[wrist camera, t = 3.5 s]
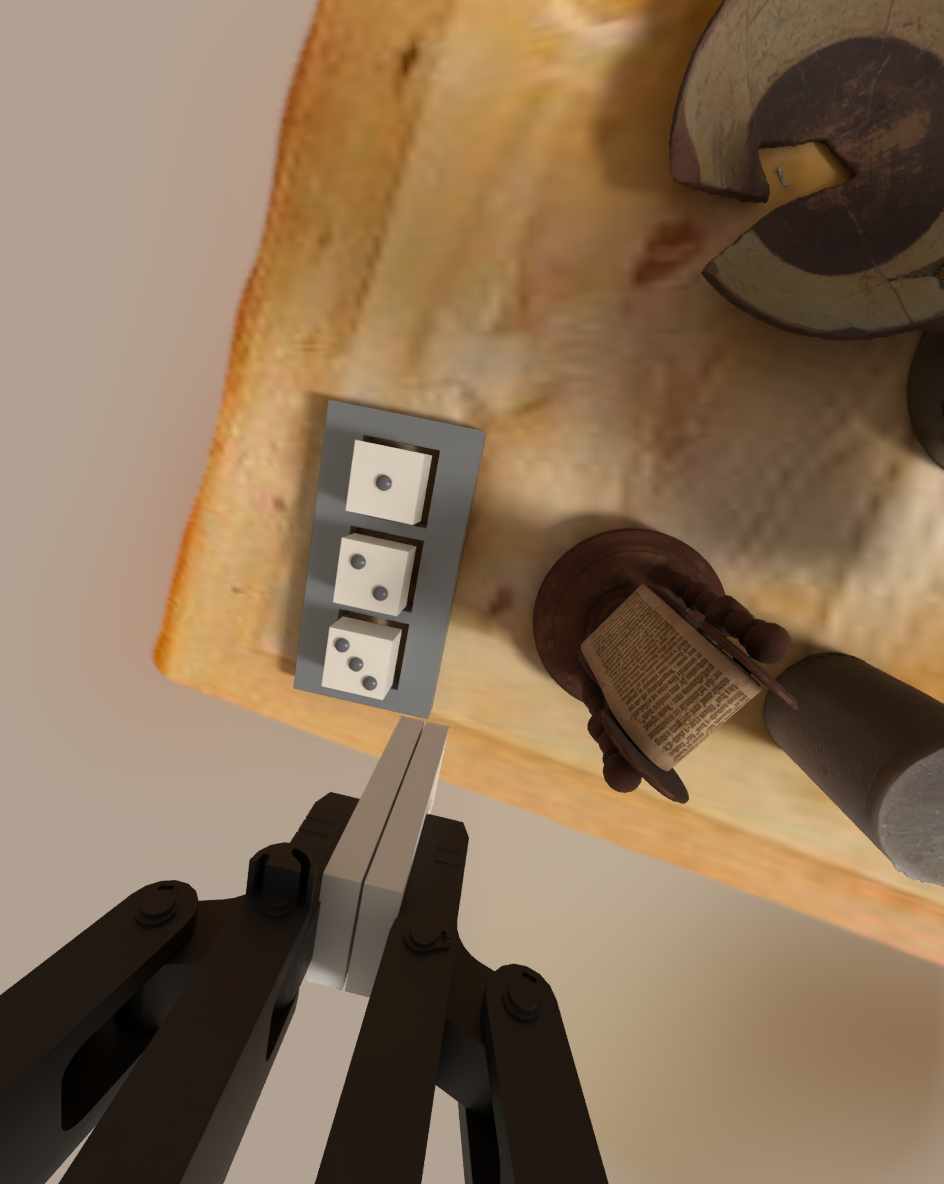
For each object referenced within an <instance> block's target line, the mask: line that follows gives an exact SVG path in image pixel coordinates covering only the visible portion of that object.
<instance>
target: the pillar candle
mask: <svg viewBox="0 0 944 1184" xmlns="http://www.w3.org/2000/svg"><path fill="white" fill-rule="evenodd" d="M776 682H778V683H779V684H780V685H781V686H782V687H783V688H784V689H785V690H786V691H787V692H789V693H790V694H791V695H792V696H793V697H794V698H795V699H796V700H797V706H798V707H799V708H798V709H797V710H794V709H792V708H791V707H790V706H789V705H787V704H786V703H785V702H784V701H783V700H781V699H780V698H779V697H778V696H777V695H776V694H775V693H773V692H772V691H771V690H770V691H769V693H768V696H767V698H766V702H765V707H764V717H765V722H766V726H767V729H768V731H769V733H770V734H771V736H772V738H773V739H774V741H775V742H776V743H777V744H778V745H779V747H780V748H781V749H782V750H783V751H784V752H785V753H786V754H787V755H788V756H789V757H790V758H791V759H792V760H793V761H794V762H795V763H796V764H797V765H798V766H799V767H800V768H801V769H802V770H803V771H804V772H805V773H806V774H807V775H808V776H809V778H810V779H811V780H812V781H813V782H814V783H815V784H816V785H817V786H818V787H819V788H820V789H821V790H822V791H823V792H824V793H825V794H826V795H827V796H828V797H829V798H830V799H831V800H832V801H833V802H834V803H835V804H836V805H837V806H838V807H839V808H840V809H841V811H842V812H843V813H844V814H845V815H846V816H847V817H848V818H849V819H850V820H851V821H852V822H853V823H854V824H855V825H856V826H857V827H858V828H859V829H860V830H861V831H862V832H863V833H864V834H865V835H866V836H867V837H868V838H869V839H870V840H871V841H872V842H873V844H874V845H875V846H876V847H877V848H878V849H879V850H880V851H881V852H882V853H883V854H884V855H885V856H886V857H887V858H888V859H889V860H890V861H891V862H892V863H893V865H894V867H895V869H896V870H897V871H899V872H903V873H904V874H905V875H906V877H909V878H911V879H912V880H920V881H921V882H922V883H923V882H928V883H933V884H937V885H941V886H943V887H944V704H943V703H941V702H939V701H938V700H936V699H934V698H932V697H931V696H929V695H927V694H925V693H923V692H922V691H920V690H918V689H916V688H914V687H912V686H910V685H908V684H906V683H904V682H902V681H900V680H898V679H896V678H894V677H892V676H890V675H889V674H887V673H885V672H883V671H881V670H879V669H877V668H875V667H873V666H871V665H870V664H868V663H866V662H865V661H863V660H861V659H859V658H857V657H854V656H849V655H846V654H840V653H829V654H827V653H826V654H818V655H814V656H809V657H807V658H805V659H803V660H801V661H799V662H797V663H796V664H795V665H793V666H791V667H789V668H788V669H787V670H785V671H784V672H783V673H782V674H781V675H780V676H779V677H778V679H777V680H776Z"/></svg>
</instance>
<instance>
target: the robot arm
mask: <svg viewBox="0 0 944 1184" xmlns="http://www.w3.org/2000/svg"><path fill="white" fill-rule="evenodd" d="M908 405H909V412H910V417H911V421H912V425H913V428H914V430H915V433H916V435H917V437H918V439H919V441H920V442H921V444H922V446H923V447H924V448H925V450H926V451H927V452H928V454H929V455H930V456H931V457H932V458H933V459H934V460H935V461H936V462H937V463H939V464H940V465H941V466H942V467H944V333H933V332H929V331H926V333H925V335H924V337H923V339H922V341H921V343H920V345H919V347H918V349H917V352H916V355H915V358H914V360H913V364H912V368H911V372H910V377H909V386H908ZM423 725H424V721H421V720H417V719H413V718H408V717H404V716H401V718H400V720H399V722H398V724H397V726H396V728H395V730H394V732H393V734H392V736H391V738H390V740H389V742H388V744H387V746H386V748H385V750H384V752H383V754H382V756H381V758H380V760H379V762H378V764H377V766H376V768H375V770H374V772H373V774H372V776H371V778H370V780H369V782H368V784H367V786H366V788H365V790H364V792H363V794H362V796H361V798H360V799H358V798H353V797H350V796H345V795H341V794H337V793H333V792H330V793H328V794H327V795H325V796H324V797H323V798H321V799H320V800H318V801H317V802H315V804H314V805H313V807H312V809H311V810H310V812H309V813H308V815H307V816H306V819H305V820H304V821H303V823H302V825H301V826H300V828H299V830H298V832H296V834H295V836H294V837H293V839H292V840H291V842H290V843H285V842H284V843H279V844H273V845H270V846H268V847H266V848H264V849H262V850H260V851H258V852H257V853H256V854H255V855H254V856H253V857H252V858H251V859H250V862H249V871H248V880H247V889H246V894H245V895H242V896H239V897H236V898H230V899H224V900H204V901H198V897H197V893H196V890H194V889H193V888H192V887H191V886H190V885H189V884H187V883H184V882H180V881H177V880H171V881H160V882H156V883H153V884H150V885H147V886H145V887H143V888H141V889H139V890H138V891H136V892H135V893H133V894H131V895H130V896H128V897H127V898H126V899H125V900H123V901H122V902H121V903H119V904H118V905H117V906H116V907H114V908H113V909H112V910H110V911H109V912H108V913H106V914H105V915H104V916H103V917H101V918H100V919H99V920H97V921H96V922H95V923H93V924H92V925H91V926H90V927H88V928H87V929H86V930H84V931H83V932H82V933H80V934H79V935H78V936H77V937H75V938H74V939H73V940H72V941H70V942H69V943H68V944H66V945H65V946H64V947H62V948H61V949H60V950H58V951H57V952H56V953H55V954H53V955H52V956H51V957H49V958H48V959H47V960H45V961H44V962H43V963H42V964H40V965H39V966H38V967H36V968H35V969H34V970H32V971H31V972H30V973H29V974H27V975H26V976H25V977H23V978H22V979H21V980H20V981H18V982H17V983H16V984H14V985H13V986H12V987H10V988H9V989H8V990H6V991H5V992H4V993H3V994H1V995H0V1184H45V1183H46V1182H47V1181H48V1179H49V1178H50V1177H51V1176H52V1175H53V1174H54V1173H55V1171H56V1170H57V1169H58V1168H59V1167H60V1166H61V1165H62V1163H63V1162H64V1161H65V1160H66V1159H67V1158H68V1157H69V1155H70V1154H71V1153H72V1152H73V1151H74V1150H75V1148H76V1147H77V1146H78V1145H79V1144H80V1143H81V1142H82V1141H83V1139H84V1138H85V1137H86V1136H87V1135H88V1134H89V1133H90V1131H91V1130H92V1129H93V1128H94V1127H95V1128H94V1130H93V1131H92V1133H91V1134H90V1136H89V1137H88V1139H87V1141H86V1142H85V1143H84V1145H83V1147H82V1148H81V1150H80V1151H79V1153H78V1154H77V1156H76V1158H75V1159H74V1161H73V1162H72V1164H71V1165H70V1167H69V1168H68V1170H67V1171H66V1173H65V1174H64V1176H63V1177H62V1179H61V1181H60V1182H59V1184H223V1183H224V1181H225V1178H226V1176H227V1173H228V1171H229V1169H230V1166H231V1164H232V1161H233V1159H234V1156H235V1154H236V1152H237V1149H238V1147H239V1145H240V1142H241V1140H242V1137H243V1135H244V1132H245V1130H246V1128H247V1125H248V1123H249V1120H250V1118H251V1116H252V1113H253V1111H254V1108H255V1106H256V1103H257V1101H258V1098H259V1096H260V1094H261V1091H262V1089H263V1087H264V1084H265V1082H266V1079H267V1077H268V1074H269V1072H270V1070H271V1067H272V1065H273V1062H274V1060H275V1058H276V1055H277V1053H278V1050H279V1048H280V1046H281V1043H282V1041H283V1038H284V1036H285V1033H286V1031H287V1029H288V1026H289V1024H290V1021H291V1019H292V1017H293V1014H294V1012H295V1009H296V1004H297V999H298V994H299V987H300V985H301V983H302V980H303V978H304V976H305V974H306V971H307V969H308V967H309V969H308V975H307V981H308V982H312V983H316V984H320V985H324V986H328V987H331V988H336V989H339V990H342V989H343V986H344V983H345V980H346V977H347V974H348V977H347V983H346V989H345V991H347V992H351V993H355V994H359V995H363V996H366V997H370V999H369V1002H368V1005H367V1009H366V1012H365V1016H364V1019H363V1022H362V1026H361V1029H360V1033H359V1036H358V1040H357V1043H356V1046H355V1049H354V1053H353V1056H352V1060H351V1063H350V1066H349V1070H348V1073H347V1076H346V1080H345V1084H344V1087H343V1090H342V1093H341V1097H340V1100H339V1104H338V1107H337V1110H336V1114H335V1117H334V1120H333V1124H332V1127H331V1131H330V1134H329V1137H328V1141H327V1145H326V1148H325V1151H324V1154H323V1158H322V1161H321V1164H320V1168H319V1171H318V1175H317V1178H316V1181H315V1184H421V1181H422V1174H423V1168H424V1167H423V1166H424V1160H425V1154H426V1147H427V1140H428V1133H429V1126H430V1119H431V1112H432V1106H433V1098H434V1091H435V1085H437V1086H438V1087H439V1088H441V1089H442V1090H443V1091H445V1092H446V1093H447V1094H449V1095H450V1096H451V1097H453V1098H454V1099H455V1100H457V1101H458V1108H459V1120H460V1132H461V1143H462V1154H463V1166H464V1177H465V1184H608V1180H607V1177H606V1173H605V1169H604V1166H603V1162H602V1159H601V1155H600V1152H599V1149H598V1145H597V1141H596V1138H595V1134H594V1131H593V1127H592V1124H591V1120H590V1116H589V1113H588V1109H587V1106H586V1103H585V1099H584V1095H583V1092H582V1088H581V1085H580V1081H579V1078H578V1074H577V1070H576V1067H575V1063H574V1060H573V1056H572V1053H571V1049H570V1046H569V1042H568V1039H567V1035H566V1032H565V1028H564V1024H563V1021H562V1017H561V1014H560V1010H559V1007H558V1003H557V1000H556V998H555V995H554V994H553V991H552V989H551V987H550V985H549V984H548V983H547V982H546V981H545V980H544V978H543V977H542V976H541V975H540V974H539V973H537V972H535V971H533V970H532V969H530V968H529V967H527V966H522V965H517V964H510V965H505V966H501V967H500V968H499V969H497V970H496V971H493V970H492V969H490V968H488V967H487V966H485V965H484V964H482V963H480V962H479V961H478V960H476V959H475V958H474V957H473V956H471V954H469V952H468V951H467V950H466V949H465V947H464V946H463V944H462V942H461V940H460V938H459V934H458V930H457V918H458V911H459V904H460V897H461V890H462V883H463V876H464V868H465V862H466V855H467V847H468V841H469V837H468V834H467V831H466V829H465V826H464V823H463V822H459V821H456V820H452V819H447V818H443V817H439V816H435V815H431V814H430V813H431V809H432V806H433V802H434V798H435V793H436V788H437V783H438V779H439V774H440V769H441V764H442V759H443V755H444V750H445V745H446V740H447V736H448V731H449V727H448V726H443V725H439V724H435V723H430V722H426V724H425V726H424V729H423ZM422 730H423V731H422ZM348 971H349V972H348Z"/></svg>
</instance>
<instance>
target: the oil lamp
mask: <svg viewBox="0 0 944 1184" xmlns="http://www.w3.org/2000/svg"><path fill="white" fill-rule="evenodd" d="M812 141H823V142H824V143H826V144H827V145H829V146H830V148H831V150H832V153H833V154H835V155H836V156H838V157H839V158H840V159H841V161H842V162H843V163H844V164H845V167H846V168H849V169H851V170H852V172H853V175H854V178H853V179H852V180H851V181H849V182H846V183H844V184H841V185H839V186H836V187H832V188H824V189H823V190H821V191H819V192H816V193H812V194H810V195H808V196H805V197H801V198H797V199H796V200H794V201H791V202H789V203H787V204H785V205H782V206H780V207H778V208H776V209H774V210H773V211H771V212H770V213H769V214H768V215H766V216H765V217H763V218H762V219H761V220H759V221H758V222H757V223H756V224H754V225H753V226H752V227H751V228H750V229H749V230H748V231H746V232H745V233H744V234H742V235H740V236H739V237H738V239H737V240H736V241H735V242H734V243H733V244H732V245H731V246H728V247H727V248H726V249H725V250H724V251H723V252H721V253H720V254H719V256H717V257H715V258H714V259H712V260H711V261H710V262H709V263H708V264H707V265H706V266H705V268H704V269H703V270H702V272H701V274H702V275H703V276H704V277H705V279H706V280H707V282H709V283H710V284H711V285H712V286H713V287H714V288H715V289H716V291H718V292H719V294H721V295H722V296H724V297H725V298H726V299H727V300H728V301H729V302H730V303H732V304H733V305H735V306H736V307H738V308H740V309H741V310H743V311H745V312H746V313H748V314H750V315H752V316H754V317H755V318H757V319H759V320H762V321H764V322H766V323H767V324H769V325H771V326H774V327H776V328H779V329H782V330H784V331H788V332H791V333H796V334H800V335H804V336H809V337H817V338H822V339H832V340H843V341H844V340H866V339H875V338H882V337H888V336H891V335H896V334H900V333H904V332H910V331H915V330H922V331H929V332H933V333H944V282H943V281H942V280H940V279H939V278H937V277H936V276H935V275H936V273H937V272H938V271H939V270H940V269H941V268H942V267H943V266H944V0H723V2H722V4H721V5H720V7H719V9H718V10H717V12H716V14H715V15H714V16H713V17H712V19H711V20H710V22H709V24H708V25H707V27H706V29H705V31H704V32H703V34H702V35H701V37H700V39H699V41H698V44H697V46H696V48H695V50H694V51H693V53H692V56H691V59H690V61H689V64H688V67H687V69H686V72H685V75H684V78H683V81H682V84H681V87H680V90H679V94H678V98H677V102H676V106H675V110H674V115H673V121H672V126H671V133H670V140H669V148H670V171H671V175H672V178H673V180H674V181H675V182H676V183H678V184H681V185H684V186H686V187H687V188H691V189H694V190H702V191H704V192H707V193H709V194H711V195H719V196H721V197H722V198H723V197H728V198H735V199H738V200H740V201H741V202H749V201H751V202H754V203H761V202H763V203H766V202H767V201H768V197H769V194H770V190H769V185H768V183H767V181H766V176H765V174H764V172H763V170H762V167H761V163H760V160H759V156H758V149H759V148H760V146H767V147H769V148H773V147H777V146H796V145H799V144H804V143H807V142H812ZM782 163H783V162H782ZM781 167H782V164H781V166H780V167H779V168H778V169H777V170H775V171H778V173H779V176H780V180H781V181H782V183H783V184H784V185H785V186H788V187H790V186H789V185H787V184H786V183H785V182H784V180H783V177H782V174H781Z"/></svg>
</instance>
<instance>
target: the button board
mask: <svg viewBox="0 0 944 1184" xmlns="http://www.w3.org/2000/svg"><path fill="white" fill-rule="evenodd" d="M371 437H375V438H379V439H384V440H389V441H394V442H399V443H404V444H409V445H414V446H418V447H423V448H428V449H433V450H438V451H440V455H439V460H438V466H437V472H436V477H435V483H434V489H433V494H432V500H431V505H430V511H429V517H428V522H427V525H423V524H418V523H416V524H414V525H411V524H406V523H401V522H397V521H392V520H387V519H383V518H378V517H373V516H369V515H364V514H359V513H354V512H350V511H346V504H347V496H348V489H349V482H350V474H351V467H352V460H353V453H354V445H355V440H359V441H364V442H368V443H370V440H371ZM485 437H486V432H485V431H482V430H477V429H472V428H467V427H462V426H457V425H452V424H447V423H442V422H437V421H432V420H427V419H422V418H417V417H412V416H407V415H402V414H398V413H393V412H388V411H383V410H378V409H373V408H368V407H363V406H358V405H353V404H348V403H343V402H338V401H333V400H328V408H327V417H326V425H325V433H324V441H323V449H322V458H321V466H320V474H319V482H318V490H317V499H316V507H315V515H314V523H313V531H312V540H311V548H310V556H309V564H308V572H307V580H306V589H305V597H304V605H303V613H302V621H301V630H300V638H299V646H298V654H297V662H296V671H295V679H294V687H293V688H294V689H299V690H303V691H307V692H312V693H316V694H320V695H325V696H329V697H333V698H338V699H342V700H346V701H351V702H355V703H359V704H364V705H368V706H372V707H377V708H381V709H385V710H390V711H394V712H398V713H403V714H407V715H411V716H416V717H420V718H424V719H428V718H429V715H430V712H431V710H432V706H433V701H434V696H435V691H436V685H437V680H438V675H439V670H440V665H441V660H442V655H443V650H444V645H445V640H446V635H447V630H448V625H449V620H450V615H451V610H452V604H453V599H454V594H455V589H456V584H457V579H458V574H459V569H460V564H461V559H462V554H463V549H464V544H465V539H466V534H467V528H468V523H469V518H470V513H471V508H472V503H473V498H474V493H475V488H476V483H477V478H478V473H479V468H480V463H481V458H482V453H483V447H484V442H485ZM358 527H361V528H365V529H370V530H375V531H379V532H384V533H389V534H393V535H398V536H403V537H407V538H412V539H417V540H421V541H424V545H423V551H422V556H421V562H420V567H419V573H418V579H417V584H416V590H415V596H414V601H413V606H411V605H407V604H406V607H405V608H404V609H403V610H402V611H401V613H400V614H399V615H398V616H393V615H388V614H384V613H379V612H375V611H370V610H366V609H361V608H357V607H352V606H348V605H343V604H339V603H334V602H333V599H334V591H335V584H336V577H337V569H338V562H339V555H340V548H341V540H342V537H345V536H348V535H351V534H354V533H357V530H358ZM346 610H347V611H352V612H356V613H361V614H365V615H370V616H374V617H379V618H383V619H388V620H392V621H397V622H401V623H406V624H409V629H408V635H407V641H406V646H405V652H404V658H403V663H402V669H401V675H400V680H396V679H393V684H392V686H391V688H390V689H389V691H388V693H387V694H386V696H385V697H384V699H383V700H380V699H375V698H371V697H367V696H362V695H358V694H354V693H349V692H345V691H341V690H336V689H332V688H328V687H323V686H322V679H323V672H324V664H325V657H326V650H327V643H328V635H329V628H330V626H331V625H333V624H334V623H335V622H337V621H338V620H339V619H340V618H342V617H343V616H344V617H345V613H346Z"/></svg>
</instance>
